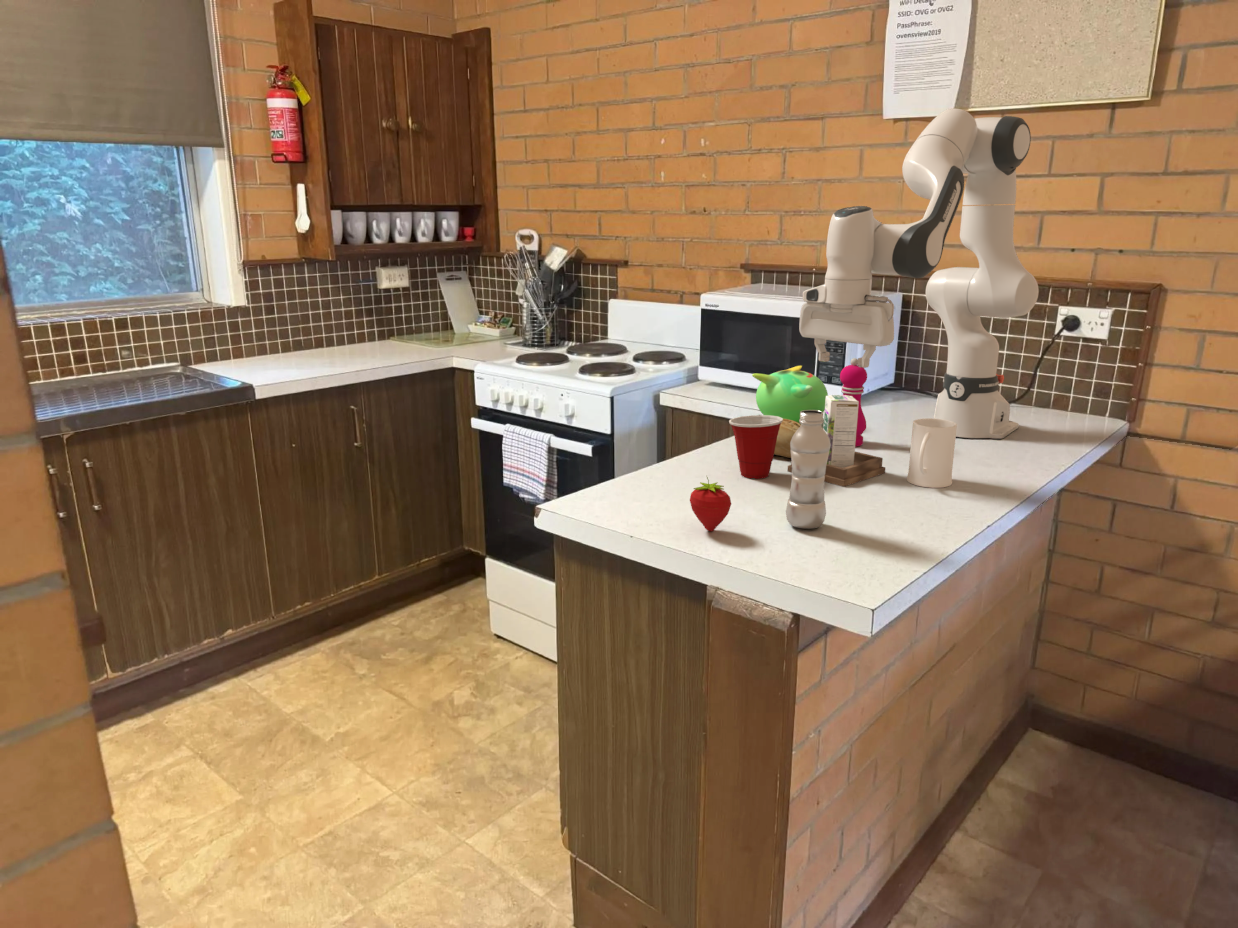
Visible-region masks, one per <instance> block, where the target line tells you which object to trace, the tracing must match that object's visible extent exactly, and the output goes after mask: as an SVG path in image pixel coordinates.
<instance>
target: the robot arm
mask: <svg viewBox="0 0 1238 928" xmlns="http://www.w3.org/2000/svg"><path fill="white" fill-rule="evenodd" d="M1031 136H1032V135H1031V129H1030V126H1029V125H1028V124H1027V122H1026V121H1025V120H1024V118H1023V117H1018V116H1012V115H1005V116H1003V117H998V116H995V117H993V116H987V117H976V118H975V117H974V116H973V115H972V114H971V113H970V112H969V111H967V110H965V109H961V108H954V107H953V108H948V109H946V110H943V111H942V112H940V113H939V114H938V115H937V116H935V117H934V118H933V119H932V120H931V121H930V122H929V123H928V124H927V125H926V127H925V128H924V129H923V130H922V131H921V133H920V134H919V135H918V136H917V138H916V140H915V141H914V142H913V143H912V145H911V147H910V148H909V150H908V152H906V155H905V156H904V158H903V159H904V160H903V161H902V167H901V171H902V178H903V180H904V183H905V184H906V186H907V187H908V188H909V189H910V190H911V191H912V193H914V194H915V195H917V196H918V197H920V198H922V199H926V200H929V203H928V204H927V207H926V210H925V213H924V215H923V217H922V219H920V220H918V221H914V222H911V223H895V224H894V223H892V224H891V223H883V222H881V221H880V220H878V219H877V218H876V217H875V216H874V211H873V208H872V207H869V206H865V205H856V206H855V205H854V206H850V207H849V206H846V207H841V208H839V209H838V210H836V211H834V212H833V213H832V215H831V218H830V221H829V226H828V232H827V238H826V239H827V240H826V249H825V250H826V251H825V252H826V255H825V257H826V262H827V267H826V268H827V269H826V272H825V276H824V283H823V284H821V285H818V286H815V287H812V288H808V289H806V290H803V292H802V301H804V303H803V304H802V306H801V309H800V314H799V326H798V327H799V329H798V330H799V333H800V335H801V337H802V338H806V339H807V338H810V339H814V346H815V348H816V351H817V353H818V361H819V362H824V363H825V362H829V361H830V359H831V358H830V355H831V353H830V352H829V351H827V349H826V345H825V344H827V341H833V342H842V343H849V344H857V345H863V349H862V350H863V351H865V352H864V353H863V355H862V356H861V357H858V358H857V359H858V367H863V368H864V369H865V368H869V367H870V361H871V360H870V359H871V358H872V356H873V355H874V353H875V352H876V348H877V347H887V346H890V345H891V344H892V343H893V342H894V339H895V322H894V321H895V320H894V314H895V313H894V312H895V305H894V303H893V301H892V300H891V299H890V298H889V297H887V296H885V295H882V296H880V295H879V296H877V295H872V285H873V284H872V283H873V282H872V281H873V275H872V274H877V275H884V276H885V275H886V276H887V275H888V276H901V277H906V278H912V279H913V278H914V279H922V278H925V277H926V276H928V275H929V274H930V273H931V272H932V271H934V269H936V268H937V266H938V265H939V263H940V261H941V259H942V255H943V251H944V246H945V241H946V239H947V235H948V233H949V230H950V228H951V226H952V223H953V220H954V218H955V215H956V213H957V210H958V208H959V206H960V203H961V200H962V207H961V217H960V229H959V240H960V242H961V244H962V245H963V246H964V248H966V249H968V250H970V251H971V252H973V254H974V255H975V257H976V258H977V261H978V267H967V266H966V267H965V266H956V267H954V266H953V267H948V268H944V269H938V270H936V271H935V272H934V273H932V275H930V277H929V279H928V281H927V283H926V286H925V299H926V301H927V304H928V305H929V307H930V308H931V309H933V310H934V312H935V313H936V314H937V315H938V317H939V318H940V319H941V321H942V323H943V327H944V329H945V333H946V336H947V337H946V338H947V363H946V372H944V375H943V380H942V382H943V383H942V388H943V390H942V391H941V392H939V393H938V395H937V399H936V404H935V409H934V415H933V419H943V420H948V421H952V422H954V423H956V424H957V430H956V437H957V438H958V437H959V438H965V439H967V438H968V439H997V440H998V439H1004V438H1006V437H1007V436H1008V435H1010V434H1011V433H1013V432H1014V431H1016V430H1018V428H1019V427H1020V425H1019V423H1018V422H1016V421H1012V420H1010V416H1011V415H1010V413H1011V406H1010V405H1011V404H1010V403H1009V402H1008V401H1007V400H1006V399H1005V397H1004V396H1003V395H1002V394H1001V392H1000V391H999V384H1003V383H1004V380H1005V375H1004V374H998V373H997V369H998V363H999V362H998V360H999V353H1000V344H999V342H998V339H997V338H996V337H995V336H994V335H993V334H991V333H990V332H988V331H987V329H985V328H984V325H983V324H982V319H981V317H987V318H988V317H989V318H1000V319H1005V318H1006V319H1007V318H1014V317H1015V318H1017V317H1021V316H1025V315H1027V314H1029V312H1031V310H1032V309H1034V307H1035V305H1036V303H1037V301H1038V297H1039V292H1040V289H1039V285H1038V281H1037V279H1036V278H1035V277H1034V275H1033V274H1032V273H1031V272H1029V271H1028V270H1027V268H1025V267H1024V265H1023V264H1022V262H1021V260H1020V258H1019V257H1018V254H1017V252H1016V248H1015V242H1014V226H1015V225H1014V223H1015V214H1016V213H1015V211H1016V202H1017V201H1016V199H1017V172H1016V170H1017V168H1018V167H1020V166H1021V164H1022V163H1023V162H1024V160H1025V159H1026V158H1027V156H1028V154H1029V150H1030V146H1031ZM965 174H967V178H966V181H965V176H964V175H965ZM962 196H963V197H962Z"/></svg>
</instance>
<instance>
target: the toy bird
mask: <svg viewBox="0 0 1238 928" xmlns="http://www.w3.org/2000/svg"><path fill="white" fill-rule="evenodd" d="M802 367H803V365H796V366H794V367H791V368H790V367H789V368H788V369H784V370H782V369H781V370H778V371H776V372H773V373H770V374H765V373H757V372H756V373H752V375H751V376H752V377H753V378H754V379H756V380H757V381H759V382H760V383H759V385H758V387H757V389H756V393H755V401H756V405H757V407H758V409H759V411H760V412H761V413H762V414H761V415H771V416H778V417H781V418H783V419H789V420H793V421H795V422H798V423H799V419H800V412H801V411H803V410H818V411H822V412H823V413H825V400H826V396H829V394H828V390H827V387H826V385H825V384H824V382H823V381H822V380H821V379H820V378H819V377H818V376H816V375H815V374H812V373H811V372H808V371H805V370H801V369H802ZM799 424H800V423H799ZM800 425H801V424H800Z"/></svg>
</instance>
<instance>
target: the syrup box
mask: <svg viewBox="0 0 1238 928" xmlns="http://www.w3.org/2000/svg"><path fill="white" fill-rule="evenodd" d="M858 406H859V401H857V400H856V399H855V398H853V397H852V396H847V395H843V394H828V396H826V400H825V410H824V412H823V424H822V428H823V429H824V431H825V432H826V434H827V435H828V437H829V439H830V444H831V445H830V450H829V456H828V460H827V464H829V465H833V466H837V467H841V468H845V467H848V466H851V465H854V454H855V452H856V447H855V441H856V430H857V418H858Z"/></svg>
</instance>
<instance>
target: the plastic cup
mask: <svg viewBox="0 0 1238 928" xmlns="http://www.w3.org/2000/svg"><path fill="white" fill-rule="evenodd" d="M782 421H783V418H781V417H778V416H771V415H763V414H756V415H745V416H737V417H733V418H730V419H729V420H728V422H729V424H730V426H731V428H732V432H733V436H734V440H735V448H736V454H737V459H738V464H739V472H740V475H741V477H743V476H744V477H743V478H747V479H751V478H755V480H758V479H759V480H760V479H765V478H768V477H769V475H770V473H771V468H772V462H773V460H774V455H775V454H774V451H775V446H776V440H777V436H778V432H779V428H780V425H781V423H782Z"/></svg>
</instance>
